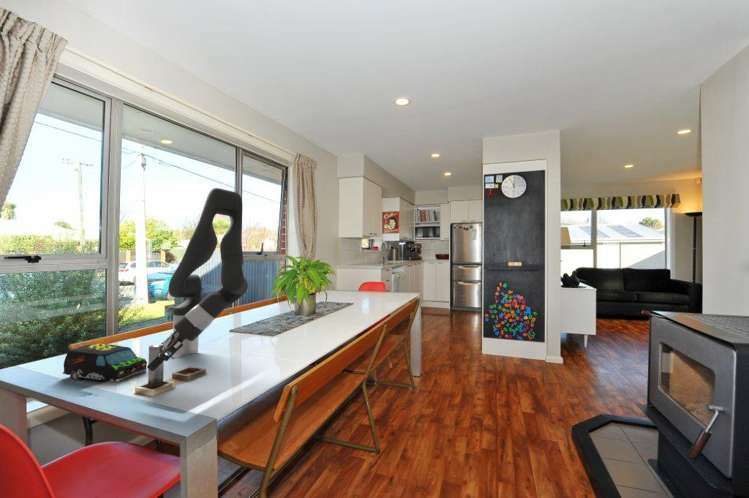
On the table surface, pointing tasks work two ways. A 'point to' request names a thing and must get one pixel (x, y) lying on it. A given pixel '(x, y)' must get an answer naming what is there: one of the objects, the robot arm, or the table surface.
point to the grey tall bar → (157, 375)
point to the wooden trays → (171, 381)
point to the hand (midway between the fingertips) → (150, 364)
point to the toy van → (103, 363)
